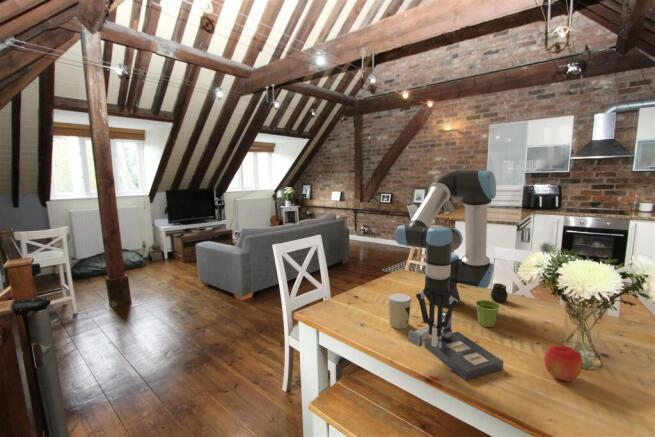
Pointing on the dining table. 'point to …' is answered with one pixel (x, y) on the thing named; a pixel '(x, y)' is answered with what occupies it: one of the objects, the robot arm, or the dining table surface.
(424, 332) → the grey bar
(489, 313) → the plant pot
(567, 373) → the apple
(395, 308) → the coffee cup
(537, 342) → the dining table surface
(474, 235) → the robot arm
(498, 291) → the mate gourd
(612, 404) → the dining table surface
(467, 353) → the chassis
